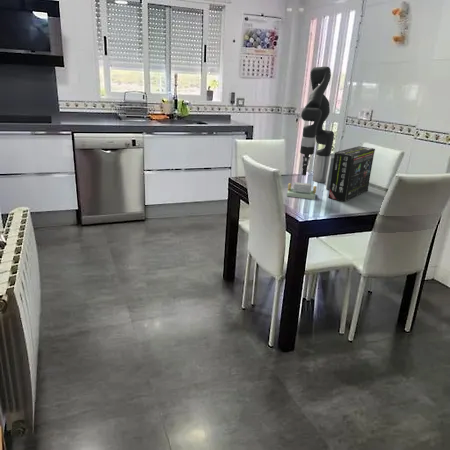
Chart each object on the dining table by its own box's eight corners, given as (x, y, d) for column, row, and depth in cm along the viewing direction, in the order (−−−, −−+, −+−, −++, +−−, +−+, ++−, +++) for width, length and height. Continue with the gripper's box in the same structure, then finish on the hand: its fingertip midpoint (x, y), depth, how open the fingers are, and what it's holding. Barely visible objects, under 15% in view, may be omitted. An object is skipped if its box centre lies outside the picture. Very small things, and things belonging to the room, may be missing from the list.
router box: (351, 187, 255) (358, 145, 246) (368, 191, 249) (376, 148, 240) (326, 198, 229) (333, 151, 220) (344, 202, 223) (353, 154, 213)
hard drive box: (338, 190, 245) (343, 158, 238) (326, 189, 247) (330, 157, 240) (337, 184, 260) (342, 154, 253) (325, 183, 261) (329, 153, 254)
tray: (288, 191, 238) (289, 181, 236) (315, 194, 235) (317, 184, 233) (286, 195, 228) (287, 185, 226) (315, 199, 225) (316, 188, 223)
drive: (292, 192, 235) (293, 182, 232) (309, 193, 233) (311, 183, 231) (292, 194, 230) (293, 184, 228) (310, 196, 229) (311, 185, 226)
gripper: (301, 142, 228) (298, 170, 234) (300, 146, 215) (296, 175, 221) (315, 143, 227) (311, 171, 233) (314, 147, 214) (310, 177, 220)
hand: (304, 173), depth 227 cm, fingers open, 8 cm apart
